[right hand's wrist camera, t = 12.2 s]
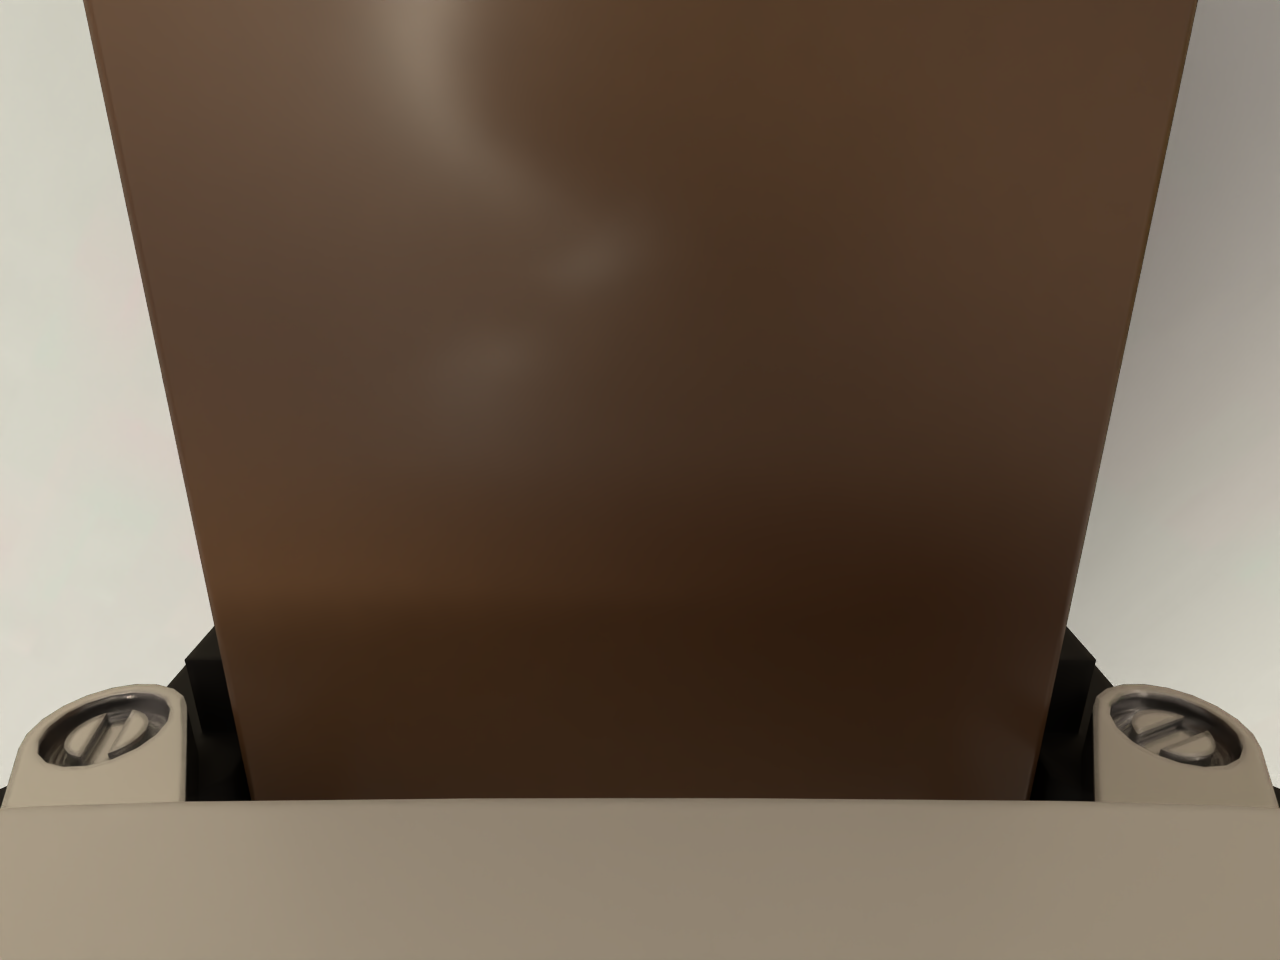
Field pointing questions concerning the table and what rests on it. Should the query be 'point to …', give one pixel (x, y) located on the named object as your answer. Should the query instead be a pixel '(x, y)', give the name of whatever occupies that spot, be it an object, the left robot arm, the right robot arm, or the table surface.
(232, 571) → the beam
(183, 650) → the table surface
